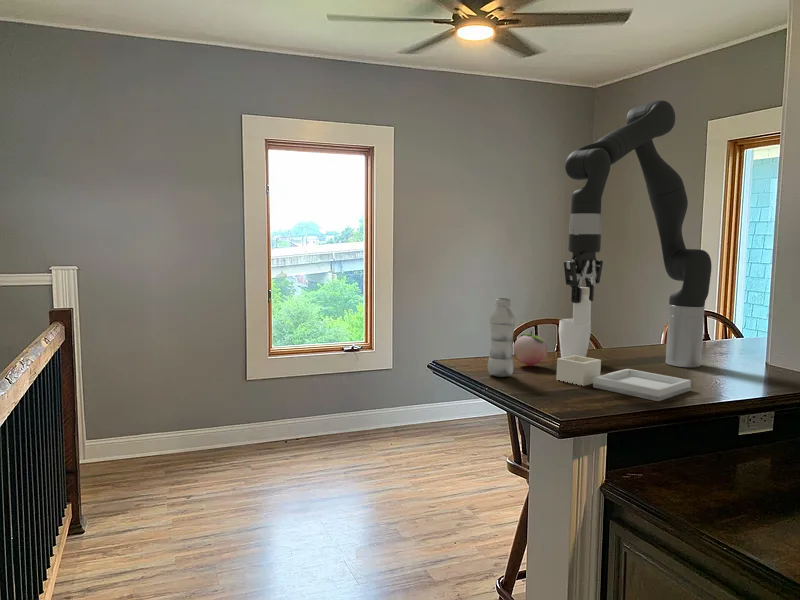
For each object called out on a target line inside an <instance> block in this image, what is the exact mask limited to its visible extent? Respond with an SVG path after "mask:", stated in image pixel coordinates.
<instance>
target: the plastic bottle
mask: <svg viewBox="0 0 800 600" xmlns="http://www.w3.org/2000/svg"><path fill="white" fill-rule="evenodd" d="M494 306H495V307H496V308H495V309H494V310H493V312H492V313H491V314H490V317H489V328H490V340H491V341H490V351H489V357H488V362H487V372H488V373H489V375H490V376H494V377H498V378H505V377H510V376H512V374H513V373H514V369H515V365H514V364H515V363H514V359H513V356H514V355H513V344H514V343H513V341H514V334H515V333H514V332H515V327H516V322H517V319H516V316H515V314H514V312H513V310H511V307H512V303H511V298H506V297H505V298H504V297H497V298H495V304H494Z"/></svg>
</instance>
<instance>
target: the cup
mask: <svg viewBox="0 0 800 600" xmlns="http://www.w3.org/2000/svg"><path fill="white" fill-rule="evenodd" d="M591 329H592V323H591V320H590V324H589V326H587V327H584V326H574V325H573V318H561V319H559V325H558V337H559V349H560V358H562V357H568V356H573V355H576V356H582V357H587V353H588V349H589V346H590V345H589V344H590V339H591V334H592V330H591Z"/></svg>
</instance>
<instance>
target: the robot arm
mask: <svg viewBox="0 0 800 600" xmlns="http://www.w3.org/2000/svg"><path fill="white" fill-rule="evenodd" d="M625 122H626V125H623V126H621V127H619V128H616V129H614V130H612V131H610V132H609V133H607V134H606V135H603V137H601V138H599V139H598V140H596V141H593V142H592V143H589V144H586V145H584V146H582V147H580V148H577V149H576V150H574V151H572V152H571V153H570V154H569V155H568V156H567V157H566V160H565V162H564V163H565V164H564V171H565V172H566V174H567V177H569V178H570V179H572V180H575V181H576V180H577V181H581V180H583V181H584V180H587V181H586V183H585V185H584V186H583V187H581V188H580V189H576V190H574V191H573V192H572V194H571V197H570V199H571V201H570V217H569V218H570V219H569V222H568V224H569V227H568V229H569V230H568V252H570V253H572V256H571V259H570V260H564V261H563V267H564V276H565V285H567V286H570V287H571V303H572V304H573V303H580V302H581V288H580V287H582V284H583V283H584V286H583V287H589V288H590V294H589V300H590V301H591V302H593V301H594V293H595V292H594V291H595V287H596V285H597V284H600V283H601V275H602V269H603V264H604V263H603V262H604V261H603V260H602V259H597V256H596V253H600V252H601V247H602V245H601V244H602V243H601V241H602V214H601V213H602V199H603V198H602V197H603V194H604V190H605V187H606V183H607V181H608V177H609V175H610V172H611V166H612V165H614V164H615V163H617V162H618V161H620V160H622V158H624V157H625V156H627V155H628V154H630V152H632V151H634V152H635V154H636V156H637V159H638V162H639V165H640V167H641V171H642V175H643V178H644V182H645V185H646V190H647V194H648V198H649V202H650V205H651V209H652V212H653V214H654V218H655V222H656V227H657V230H658V236H659V240H660V245H661V246H660V247H661V251H662V257H663V264H664V269H665V271H666V274H667V275H668V277H669V278H670V279H672V280H674V281H677V282H678V281H679V282H682V286H681V289H679V290H678V291H677V292H674V293H672V294H670V296H669V298H668V300H669V301H668V314H667V316H668V318H667V334H666V348H665V364H667V365H669V366H674V367H680V368H699V367H701V364H702V351H703V350H702V349H703V339H704V338H703V336H704V323H705V322H704V321H705V310H706V309H705V308H706V307H705V305H706V300H707V299H708V296H709V293H710V292H709V291H710V284H711V283H710V282H711V277H712V259H711V256H710V254H709V253H708V252H707V251H705V250H704V249H697V248H687V247H686V244H685V241H684V237H683V223H684V221H685V217H686V213H687V210H688V205H689V202H688V196H687V193H686V188H685V185H684V181H683V178H682V177H681V176H680V174H679V173H678V172H677V171H676V169H674V168H673V167H671V165H669V164H668V163H667V162H666V161H665V160H664V159H663V158H662V156H661V155H660V154H659V152H658V151H657V148H656V147H655V144H654V141H653V139H655V138H659V137H663V136H665V135H666V134H669V133H670V132H671V131H672V130H673V128H674V126H675V125H676V112H675V109H674V106H672V104H671V103H670V102H669V101H666V100H655V101H652V102H648V103H645V104H642V105H639V106H636V107H633V108H631V109H630V110H629V111H628V112H627V115H626V120H625ZM583 281H584V282H583Z"/></svg>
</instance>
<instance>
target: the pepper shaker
mask: <svg viewBox="0 0 800 600" xmlns="http://www.w3.org/2000/svg"><path fill="white" fill-rule="evenodd" d="M580 288H581V302H580V303H573V302H572V304H573V306H572V307H573V308H572V309H573V310H572V319H573V325H574V326H584V327H587V326H589V324H590V321H591V318H592V317H591V315H592V314H591V313H592V301H590V300H589V294H590V288H589V287H584V286H581V287H580Z"/></svg>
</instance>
